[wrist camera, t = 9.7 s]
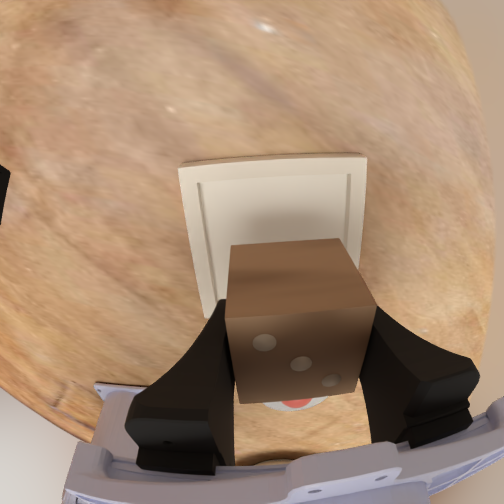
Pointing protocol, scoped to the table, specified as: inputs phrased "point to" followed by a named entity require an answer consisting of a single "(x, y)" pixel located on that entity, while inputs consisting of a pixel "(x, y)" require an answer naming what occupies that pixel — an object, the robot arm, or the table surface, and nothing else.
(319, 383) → the die
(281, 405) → the dome
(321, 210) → the die pad
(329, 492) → the robot arm
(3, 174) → the black tapered mount
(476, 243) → the table surface
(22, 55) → the table surface
